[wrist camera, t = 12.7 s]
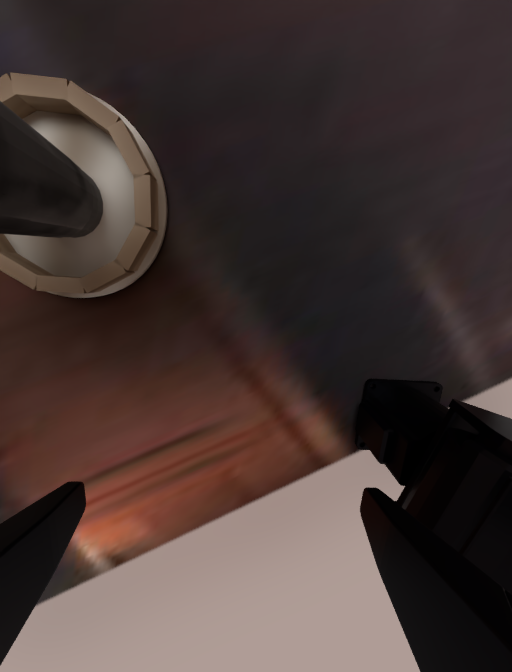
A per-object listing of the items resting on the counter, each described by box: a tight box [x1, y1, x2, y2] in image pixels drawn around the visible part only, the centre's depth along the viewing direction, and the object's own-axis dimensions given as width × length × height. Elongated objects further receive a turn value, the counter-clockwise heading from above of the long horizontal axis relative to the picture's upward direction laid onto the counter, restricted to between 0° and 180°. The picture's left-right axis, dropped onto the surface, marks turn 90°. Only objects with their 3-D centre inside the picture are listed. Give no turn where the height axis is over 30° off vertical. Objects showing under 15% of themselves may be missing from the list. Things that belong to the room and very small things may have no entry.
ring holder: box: [0, 73, 168, 298], centre depth 17 cm, size 13×13×2 cm
